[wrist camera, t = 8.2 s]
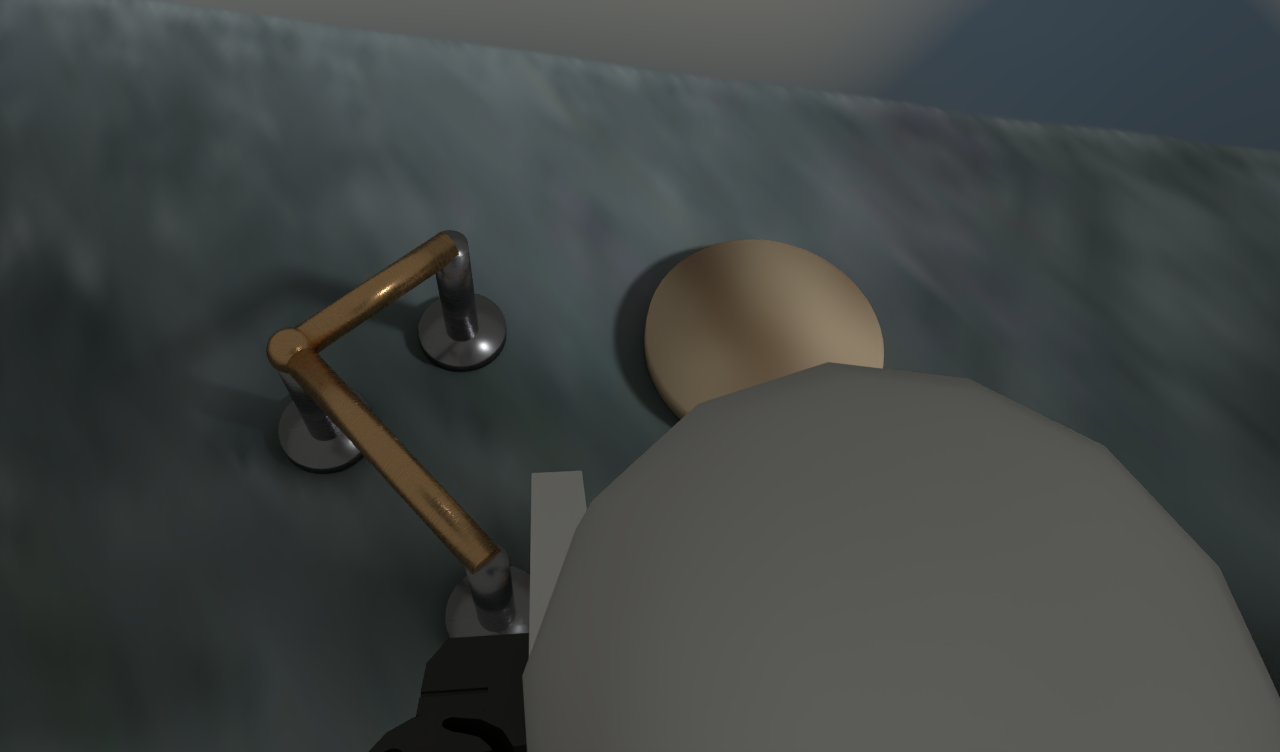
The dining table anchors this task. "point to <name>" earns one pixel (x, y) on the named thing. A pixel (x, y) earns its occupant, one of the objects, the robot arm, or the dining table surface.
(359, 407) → the rail
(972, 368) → the dining table surface
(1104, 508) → the salt shaker
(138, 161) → the dining table surface
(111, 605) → the dining table surface
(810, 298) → the coaster
